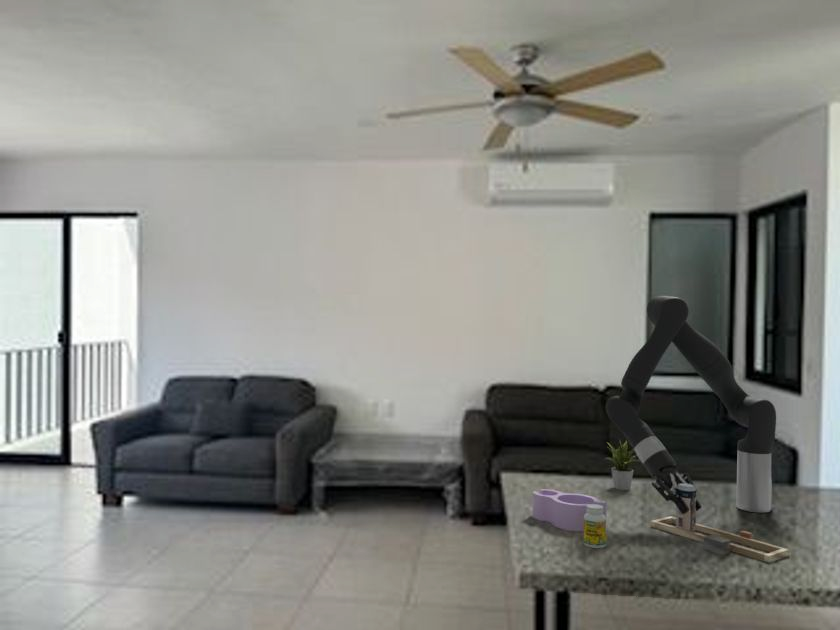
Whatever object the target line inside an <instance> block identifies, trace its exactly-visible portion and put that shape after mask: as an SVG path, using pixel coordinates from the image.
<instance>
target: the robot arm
mask: <svg viewBox="0 0 840 630" xmlns="http://www.w3.org/2000/svg"><path fill="white" fill-rule="evenodd" d="M646 313H647V317H648V319H649V321H650V323H652V324H653V325H654V328H653V331H652V333H651V334H650V336H649V338H648V339H647V341H646V342H645V343H644V344H643V346H641V348H640V349H639V350H638V351H637V353H636V354H635V355H634V356H633V357H632V359H631V361H630V362H629V364H628V366H627V369H626V370H625V373H624V375H623V376H622V378H621V381H620V385H621V387H622V391H621V394H620V395H614V396H611V397H610V398H608V400H607V401H606V403H605V412H606V414H607V417H608V418H609V419H610V421H611V422H612V423H613V424H614V426H616V428H618V430H619V431H620V432H621V433H622V434H623V435H624V437H625V438H626V440H627V442H628V443H629V444H630V446H631V447H632V449H634V450H635V451H634V452H635V453H636V457H638V460H639V461H640V463H642V465H643V466H644V468H645V469H646V470H647V472H648V473H649V475H650V476H651V477H652V478H653V479H654V481H652V482H651V486H653V488H654V489H655V490H656V491H657V492H658V493H659V494H660V495H661V496H662V498H663V499H664V500H665V501H666V502H669V501H670V502H671V503H673V504H675V506H676V508H677V507H678V509H679V510H680V511H681V513H682V514H686V513H687V512H688V511H689V508H688V506H687V505H686V504H685V502H684V501H683V499H682V498H679V497H680V495H679V493H678V487H677V486H678V485H679V484H680V483H688V484H692V485H694V486H695V484H694V482H693V480H692V479H691V476H690V475H689V473H688V472H685V473H680V472H679V471H678V470H677V469H676V465H677V462H676V461H675V459H674V458H673V457H672V455H671V454H670V453H669V451H668V450H667V448H666V447H665V446H664V444H663V443H662V442H661V441H660V439H658V437H657V436H656V435H655V433H654V432H653V431H652V429H651V428H650V426H649V425H648V424H647V423H646V422H645V421H643V420H642V419H641V418H640V417H639V416H638V415H639V412H640V409H641V406H642V401H643V398H644V393H645V391H646V388H647V386H648V385H649V383H650V381H651V378H652V376H653V375H654V371H655V370H656V368H657V366H658V364H659V363H660V362H661V359H662V357H663V356H664V354H665V352H666V351H667V349H668V348H669V346H670V345H671V344H674V346H675V347H676V349H677V350H678V352H680V354H681V355H682V356H683V357H684V359H685V360H686V361H687V363H688V364H689V365H690V366H691V367H692V368H693V370H694V371H695V372H696V373H697V374H698V375H699V377H700V378H701V379H702V380H703V381H704V382H705V383H706V384H707V385H708V387H709V388H710V389H711V390H712V391H713V393H714V394H715V395H716V396H717V397H718V398H719V399H720V401H721V402H722V403H723V406H724V407H725V408H726V410H727V411H728V412H729V414H730V415H731V417H732V418H733V420H734V421H735V422H736V423H738V425H741V427H742V426H743V427H745V428H747V435H746V437H744V438H741V439H740V440H737V445H736V446H737V447H736V449H737V451H736V452H737V458H736V459H737V460H736V463H737V464H736V500H735V501H736V502H735V503H736V506H735V507H736V508H737V509H740V510H741V511H746V512H750V513H751V512H752V513H759V514H761V513H770V512H771V509H772V493H773V492H772V488H773V487H772V481H773V479H772V450H773V445H774V444H775V440H776V428H777V411H776V408H775V406H774V404H773V402H771V401H770V400H769V399H765V398H759V397H753V396H751V395H749V394H748V393H747V392H746V391H745V390H743V388H742V387H741V386H740V385H739V383H737V381H736V379H735V374H734V369H733V366H732V364H731V362H730V360H729V359H728V358H727V356H726V355H725V354H724V353H723V352H722V350H721V349H720V348H719V347H718V346H717V345H716V344H715V343H713V342H712V341H711V340H710V339H708V338H707V337H706V336H705V335H703V334H702V333H700V332H699V331H698V330H696V329H695V328H694V327H692V326H691V324H689V322H688V321H687V319H688V317H689V305H688V304H687V303H686V301H685V300H684V299H683V298H680V297H677V296H671V295H670V296H669V295H657V296H655V297H652V298H651V299H650V300H649V302H648V303H647V306H646ZM697 490H698V489H696V492H697ZM701 509H702V505H701V503H700V501H699V500H698V499H697V498H696V512H698V511H700V510H701Z"/></svg>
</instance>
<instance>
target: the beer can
mask: <svg viewBox="0 0 840 630" xmlns="http://www.w3.org/2000/svg"><path fill="white" fill-rule="evenodd" d="M677 487H678V493H679V495H680V497H679V498H682V499H683V501H684V502H685V504H686V505H687V506H688V508H689V511H688V512H687V513H686V514H682V513H681V511H680V510H679V509H678V507H677V506H676V514H675V515H676V524H675V527H678V528H682V529H685V530H688V531H692V532H695V531H696V530H695V527H696V519H697V518H696V517H697V514H696V513H697V511H696V499H697V491H696V490H697V488H696V485H695V484H694V485H692V484H688V483H680V484H679V485H678V486H677Z"/></svg>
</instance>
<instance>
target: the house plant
mask: <svg viewBox="0 0 840 630" xmlns="http://www.w3.org/2000/svg"><path fill="white" fill-rule="evenodd" d="M607 444H608V446H609V447H608V450H610V452H611V453H612V457H605V458H604V459H605V460H610V462H612V464H614V467H611V475H612V481H613V488H614V489H616V490H621V491H629V490H631V486H632V482H633V481H632V480H633V477H634V476H633V475H634V469H632V468H630V467H629V465H630V463H632V462H639V463H641V460H639V459H635V457H636V455H633V454H634V453H636V452H635V450H634V449H633V448H632V449H631V450H629V451H628V446H629V445H628V440H627V439H625V442H624V443H623V444H622V442H621V440H619V444H620V446H619V447H618V448H616V449H615V448H614V446H613V445H611V444H610V443H609V442H607ZM632 455H633V456H632ZM632 465H634V463H633V464H632ZM632 465H631V466H632Z"/></svg>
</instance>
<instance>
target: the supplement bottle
mask: <svg viewBox="0 0 840 630" xmlns="http://www.w3.org/2000/svg"><path fill="white" fill-rule="evenodd" d="M586 510H587V512H588V513H586V514H585V515H584V531H583V544H584V546H586V547H588V548H592V549H602V548H605V547H606V545H607V516H606V517H605V515H603V514H602V513H603V506H601V505H597V504H589V505H587V509H586Z"/></svg>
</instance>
